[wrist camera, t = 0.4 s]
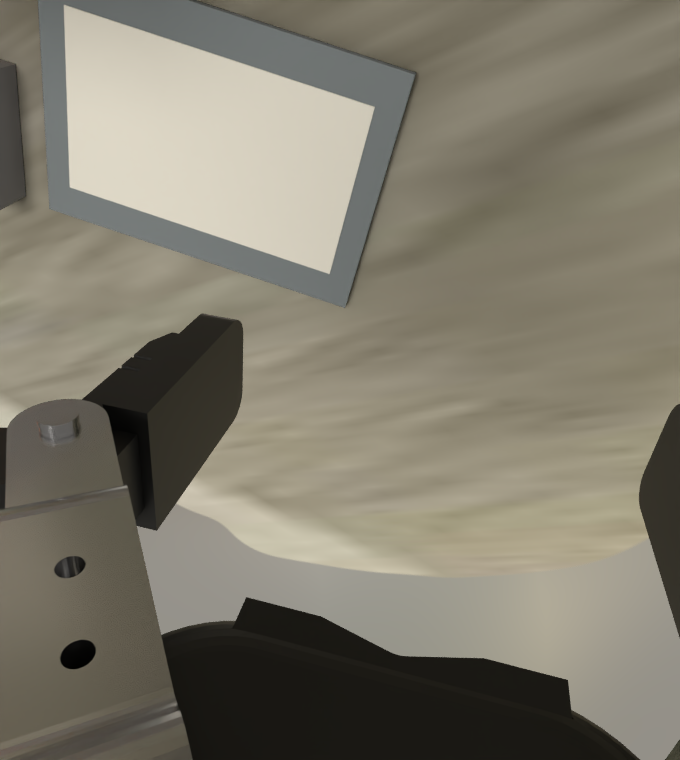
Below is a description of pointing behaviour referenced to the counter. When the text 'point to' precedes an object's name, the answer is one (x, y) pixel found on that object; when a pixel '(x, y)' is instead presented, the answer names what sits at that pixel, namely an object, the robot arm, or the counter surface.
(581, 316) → the counter surface
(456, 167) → the counter surface
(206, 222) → the mat
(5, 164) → the grey square holder
